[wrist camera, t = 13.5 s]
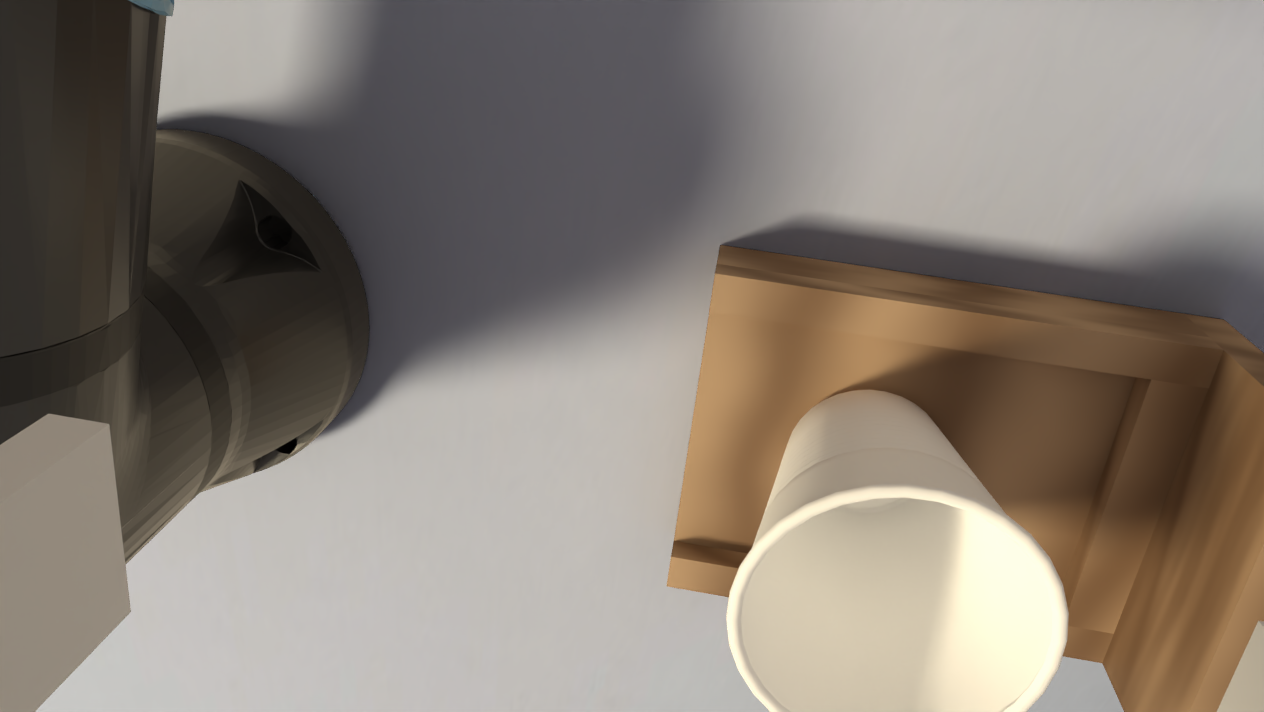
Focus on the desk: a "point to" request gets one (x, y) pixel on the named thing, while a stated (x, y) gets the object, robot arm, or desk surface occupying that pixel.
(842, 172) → the desk surface
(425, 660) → the desk surface
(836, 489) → the cup
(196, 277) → the robot arm
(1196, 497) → the bracket shelf
